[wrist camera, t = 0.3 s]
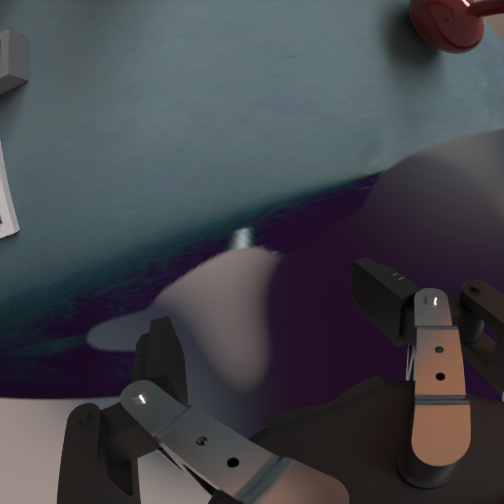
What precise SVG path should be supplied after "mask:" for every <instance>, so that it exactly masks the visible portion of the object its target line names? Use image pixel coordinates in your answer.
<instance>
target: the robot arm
mask: <svg viewBox="0 0 504 504" xmlns="http://www.w3.org/2000/svg"><path fill="white" fill-rule="evenodd" d="M351 280H352V296H353V299H354V302H355V304H356V305H357V306H358V307H359V308H360V309H361V310H362V311H363V312H364V313H365V314H366V315H367V316H368V317H369V318H370V319H371V320H372V322H373V323H374V324H376V325H377V326H378V328H379V329H380V330H381V331H382V332H383V333H384V334H385V335H386V336H387V337H388V338H389V339H390V340H391V341H392V342H393V343H394V344H395V345H396V346H397V347H398V346H400V345H402V344H404V343H406V342H407V343H408V344H409V347H408V359H407V374H406V380H394V381H386V382H384V381H383V379H382V378H381V377H380V375H378V376H375V377H373V378H371V379H369V380H366V381H364V382H362V383H360V384H357V385H355V386H353V387H352V388H350V389H349V390H347V391H346V392H344V393H343V394H342V395H340V396H339V397H337V398H336V399H334V400H333V401H331V402H329V403H328V404H324V405H318V406H312V407H306V408H298V409H292V410H290V411H286V412H284V413H280V414H277V415H274V416H271V417H268V418H264V419H263V421H264V424H265V428H263V429H262V430H260V431H258V432H257V433H255V434H254V435H253V436H252V437H250V438H249V439H246V438H244V437H242V436H241V435H239V434H237V433H236V432H234V431H232V430H231V429H229V428H228V427H226V426H224V425H223V424H221V423H219V422H218V421H216V420H215V419H213V418H212V417H210V416H209V415H207V414H206V413H204V412H203V411H201V410H200V409H198V408H196V407H195V406H192V405H190V406H189V404H188V393H187V382H186V369H185V357H184V353H183V349H182V346H181V343H180V341H179V339H178V337H177V334H176V332H175V329H174V327H173V324H172V322H171V320H170V318H169V316H165V317H161V318H158V319H154V320H151V323H150V332H149V333H147V334H143V335H142V336H141V338H140V339H139V341H138V342H137V345H136V353H135V360H134V367H133V375H132V383H131V384H130V385H128V386H127V387H126V388H125V389H124V390H123V391H122V393H121V396H120V402H119V403H116V404H114V405H112V406H110V407H108V408H105V409H103V410H100V409H99V407H98V406H97V405H95V404H92V403H86V404H82V405H79V406H78V407H76V408H75V409H74V410H73V411H72V412H71V413H70V415H69V417H68V420H67V425H66V431H65V437H64V443H63V450H62V457H61V465H60V473H59V482H58V493H57V504H141V500H140V490H139V477H138V462H137V458H139V457H141V456H143V455H146V454H148V453H150V452H152V451H155V450H157V451H158V452H160V453H161V454H162V455H163V456H164V457H165V458H166V459H167V460H168V461H169V462H171V463H172V464H173V465H174V466H175V467H176V468H178V469H179V470H180V471H181V472H182V473H183V474H184V475H186V476H187V477H188V478H189V479H190V480H191V481H193V482H194V483H195V484H196V485H197V486H198V487H199V488H200V489H201V490H203V491H204V492H205V493H206V494H208V495H209V496H210V497H211V499H210V501H209V502H208V504H504V295H503V294H501V293H500V292H498V291H497V290H496V289H494V288H493V287H491V286H490V285H488V284H487V283H485V282H483V281H480V280H469V281H466V282H464V283H463V284H462V287H461V293H460V294H455V295H450V296H447V295H446V294H445V293H444V292H442V291H440V290H438V289H433V288H426V289H420V288H419V287H417V286H416V285H415V284H413V283H412V282H410V281H409V280H408V279H406V278H404V277H403V276H402V275H401V274H398V273H397V272H396V271H395V270H393V269H392V268H391V267H387V266H384V265H381V264H380V265H378V264H377V263H375V262H374V261H373V260H371V259H370V258H364V259H361V260H358V261H355V262H352V264H351ZM484 322H485V323H486V324H488V325H489V326H490V327H491V328H492V329H494V331H495V332H496V335H497V341H496V343H495V342H494V341H493V340H492V339H491V338H490V337H489V336H487V335H486V334H485V333H484V332H483V331H482V329H483V325H484ZM462 355H463V356H464V357H465V358H466V359H467V360H468V361H469V362H470V363H471V364H472V365H473V366H474V367H475V368H476V369H477V370H478V371H479V372H480V374H481V375H482V376H483V377H484V378H485V379H486V380H487V381H488V382H489V383H490V384H491V385H492V386H493V387H494V388H495V389H496V391H498V393H499V394H500V395H501V396H502V400H503V402H502V401H496V400H491V399H486V398H481V397H477V396H472V395H468V394H465V381H464V371H463V361H462Z"/></svg>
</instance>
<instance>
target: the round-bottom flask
mask: <svg viewBox="0 0 504 504" xmlns="http://www.w3.org/2000/svg"><path fill="white" fill-rule="evenodd" d="M408 12H409V17H410V20H411V23H412V25H413V27H414V29H415V30H416V32H417V33H418V34H419V36H420V37H421V38H422V39H423V40H424V41H425V42H427V43H428V44H429V45H431V46H432V47H434V48H436V49H438V50H440V51H443V52H446V53H451V54H462V53H466V52H469V51H471V50H473V49H474V48H476V47H477V46H478V45H479V43H480V42H481V40H482V38H483V35H484V30H485V24H484V18H483V17H485V16H491V15H497V14H503V13H504V0H480V1H476V2H475V1H474V0H409V5H408Z"/></svg>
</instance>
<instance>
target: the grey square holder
mask: <svg viewBox="0 0 504 504" xmlns="http://www.w3.org/2000/svg"><path fill="white" fill-rule="evenodd" d="M27 81H29V72H28V38H26V37H25V36H23V35H21V34H20V33H18V32H16V31H15V30H13V29H11V28H10V27H9V28H7V29H5V30H4V31H2V32H0V95H1V94H3V93H5V92H7V91H9V90H11V89H13V88H15V87H17V86H19V85H21V84H23V83H25V82H27Z"/></svg>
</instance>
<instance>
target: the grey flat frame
mask: <svg viewBox="0 0 504 504" xmlns="http://www.w3.org/2000/svg"><path fill="white" fill-rule="evenodd" d="M0 216H1V220H2V223H1V224H0V238H2V237H5V236H8V235H11V234H14V233H16V232H17V231H19V230H20V228H19V225H18V221H17V218H16V214H15V210H14V206H13V202H12V198H11V194H10V189H9V185H8V180H7V175H6V170H5V165H4V159H3V153H2V146H1V139H0Z"/></svg>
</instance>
